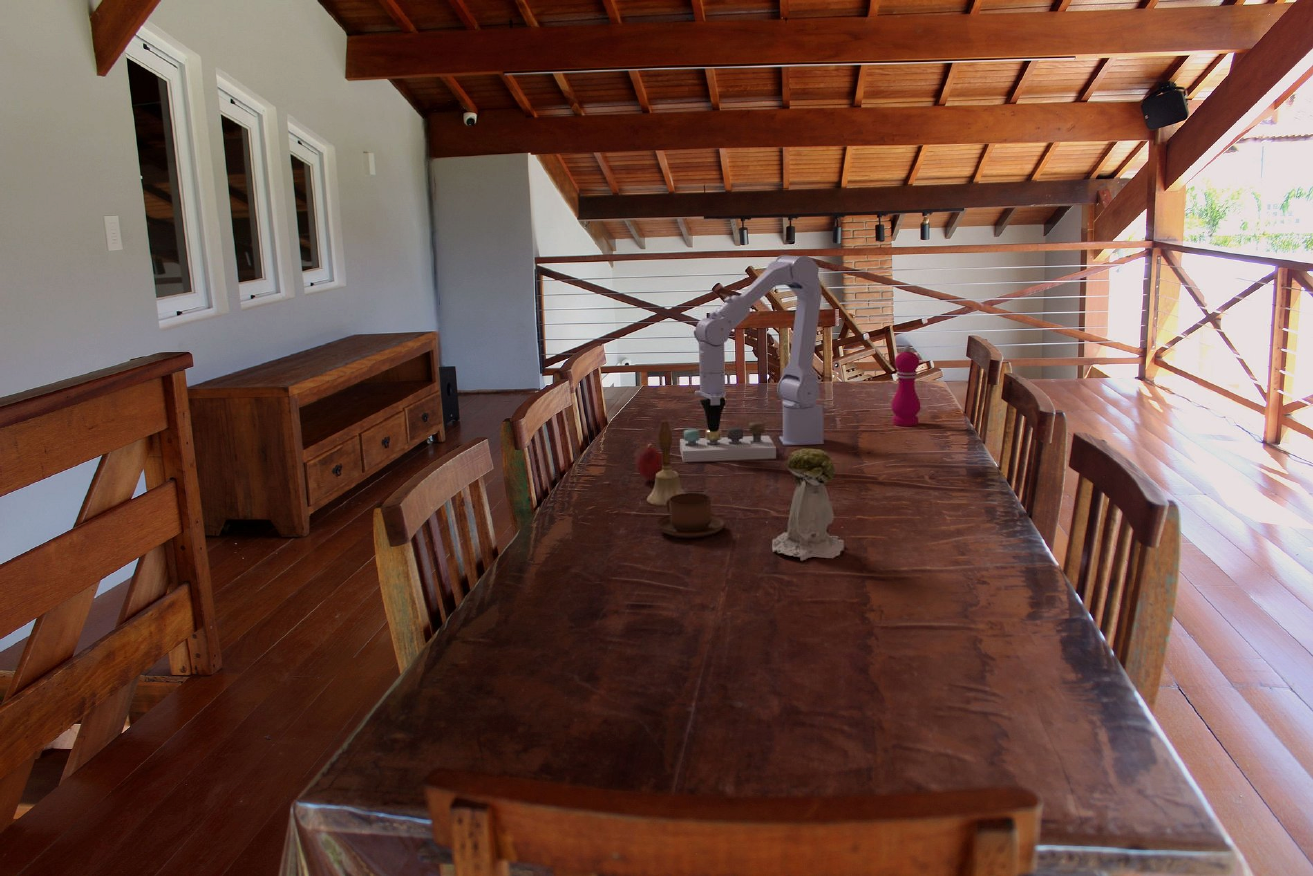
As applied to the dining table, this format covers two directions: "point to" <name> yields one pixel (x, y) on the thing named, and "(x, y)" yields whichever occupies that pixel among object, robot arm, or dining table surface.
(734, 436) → the dark grey rounded knob
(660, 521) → the cup and saucer
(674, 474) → the hand bell
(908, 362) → the pepper mill
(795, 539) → the moss topped figurine
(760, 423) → the walnut key
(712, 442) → the brass dome cap
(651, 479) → the onion
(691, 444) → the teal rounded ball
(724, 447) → the console
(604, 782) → the dining table surface
